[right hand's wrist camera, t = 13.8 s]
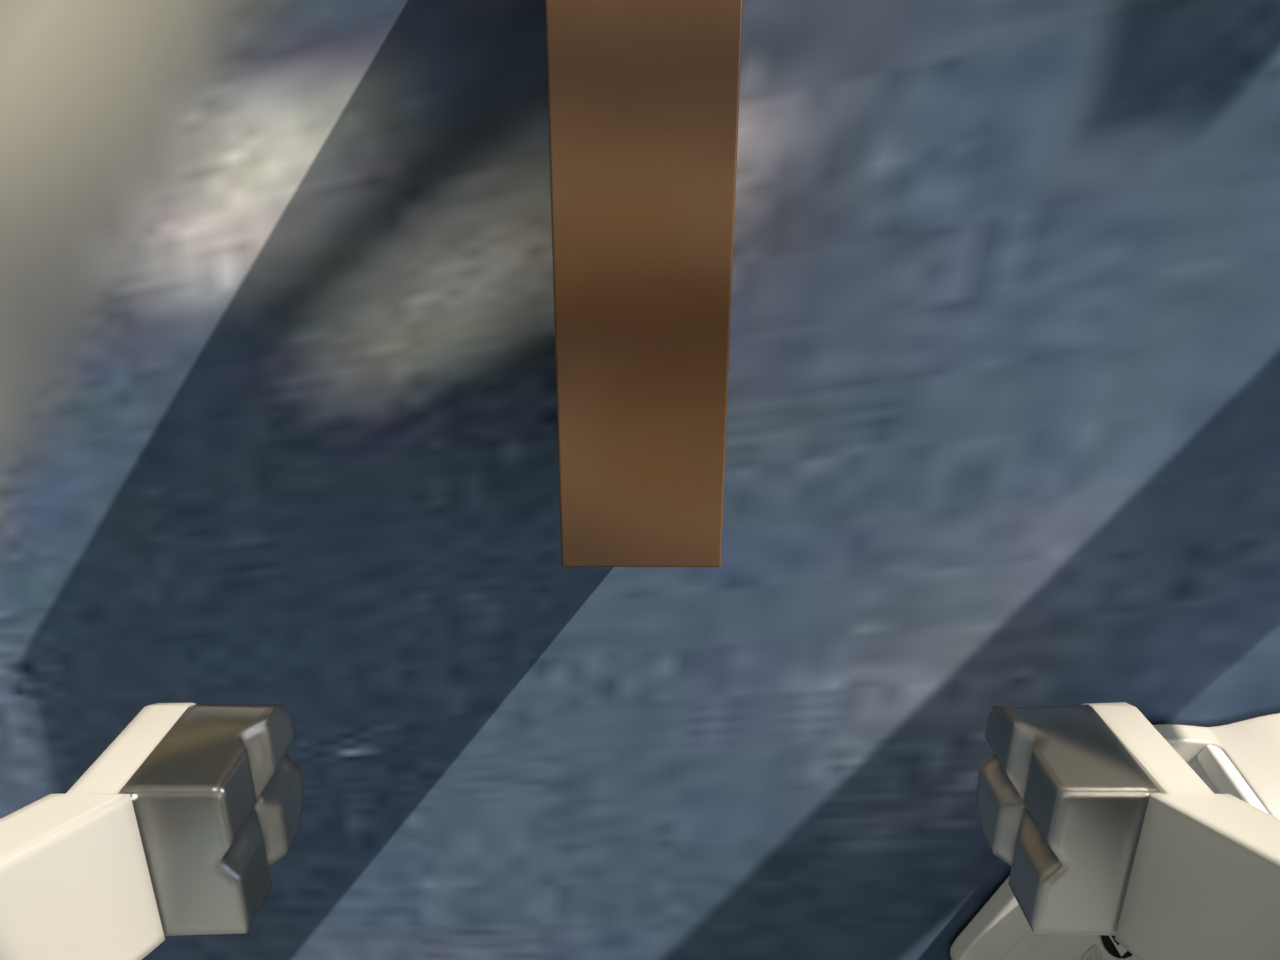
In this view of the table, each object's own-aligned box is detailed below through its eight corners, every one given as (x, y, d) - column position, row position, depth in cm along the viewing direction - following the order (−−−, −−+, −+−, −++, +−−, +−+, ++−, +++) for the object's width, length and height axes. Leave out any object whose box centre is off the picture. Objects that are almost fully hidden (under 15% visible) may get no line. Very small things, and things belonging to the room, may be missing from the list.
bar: (700, 463, 34) (720, 567, 26) (581, 462, 34) (561, 567, 26) (721, -271, 26) (761, -479, 18) (566, -272, 26) (530, -481, 18)
